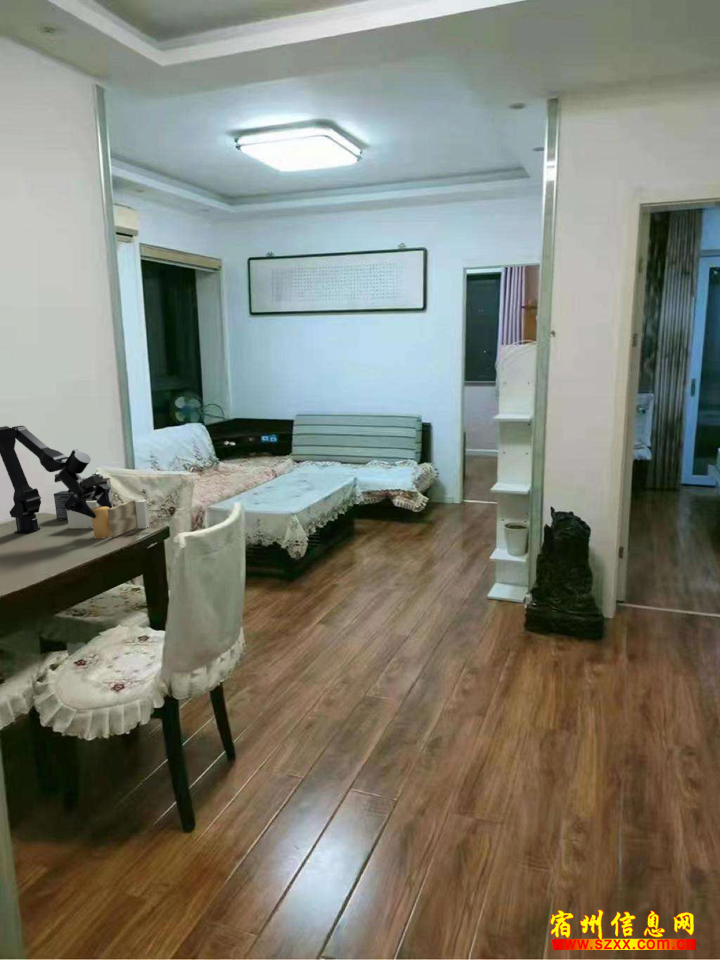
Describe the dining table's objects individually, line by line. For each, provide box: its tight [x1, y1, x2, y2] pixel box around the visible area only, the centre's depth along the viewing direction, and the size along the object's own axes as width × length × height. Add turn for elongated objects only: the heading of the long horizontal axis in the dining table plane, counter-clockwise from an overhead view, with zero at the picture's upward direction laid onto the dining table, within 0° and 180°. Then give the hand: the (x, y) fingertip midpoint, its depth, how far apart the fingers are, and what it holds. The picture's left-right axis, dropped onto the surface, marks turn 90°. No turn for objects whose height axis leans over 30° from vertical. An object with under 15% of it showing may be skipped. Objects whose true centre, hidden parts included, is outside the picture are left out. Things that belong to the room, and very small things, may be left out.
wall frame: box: [67, 499, 150, 529], centre depth 246 cm, size 30×2×10 cm, turn 83°
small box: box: [53, 490, 73, 521], centre depth 263 cm, size 11×6×10 cm, turn 84°
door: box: [107, 499, 138, 538], centre depth 238 cm, size 14×2×10 cm, turn 163°
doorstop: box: [91, 507, 111, 539], centre depth 235 cm, size 6×6×10 cm
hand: (104, 514), depth 234 cm, fingers open, 9 cm apart
